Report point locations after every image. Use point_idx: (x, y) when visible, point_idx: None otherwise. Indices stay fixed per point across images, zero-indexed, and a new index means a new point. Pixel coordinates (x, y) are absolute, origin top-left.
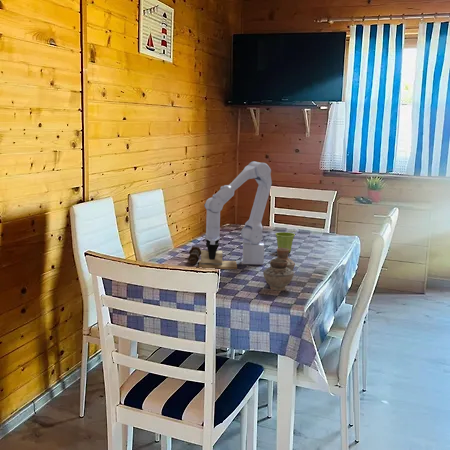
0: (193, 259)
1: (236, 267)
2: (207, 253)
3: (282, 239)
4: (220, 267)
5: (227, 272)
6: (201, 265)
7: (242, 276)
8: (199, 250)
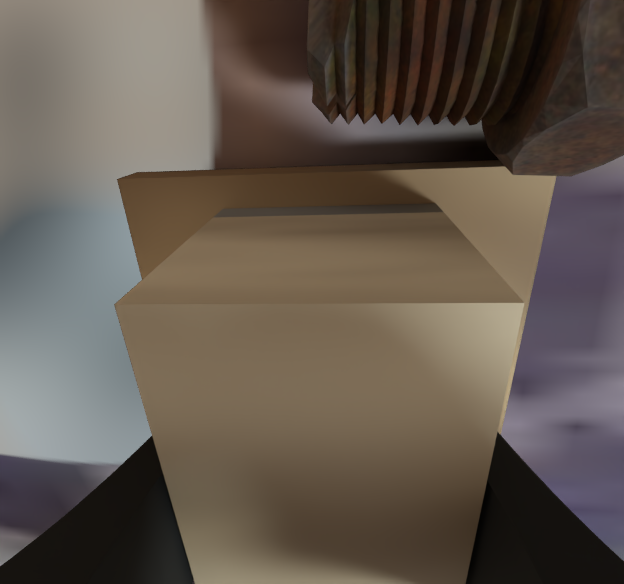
0: (321, 36)
1: None
2: (164, 450)
3: None
4: None
5: (78, 480)
6: (166, 222)
7: (4, 561)
8: None
